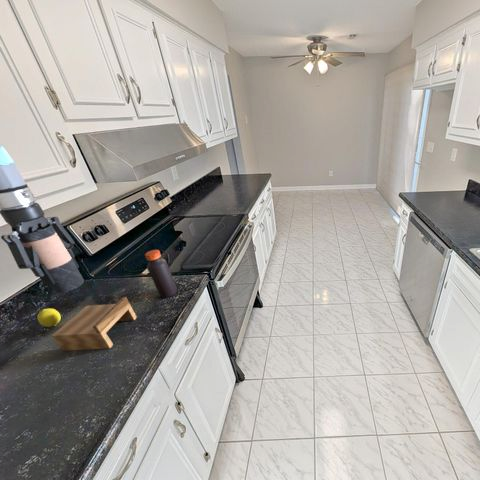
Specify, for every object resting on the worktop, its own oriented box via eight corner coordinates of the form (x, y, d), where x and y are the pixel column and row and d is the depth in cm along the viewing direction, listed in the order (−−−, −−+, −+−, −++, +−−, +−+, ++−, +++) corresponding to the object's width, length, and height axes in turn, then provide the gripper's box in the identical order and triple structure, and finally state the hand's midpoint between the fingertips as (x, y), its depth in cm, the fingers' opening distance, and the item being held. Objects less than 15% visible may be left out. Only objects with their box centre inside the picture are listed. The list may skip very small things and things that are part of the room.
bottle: (172, 297, 105) (155, 256, 96) (156, 298, 106) (138, 257, 96) (180, 287, 111) (165, 248, 102) (165, 288, 112) (148, 249, 102)
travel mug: (90, 281, 82) (56, 225, 73) (61, 296, 76) (21, 236, 67) (77, 276, 85) (44, 222, 76) (49, 290, 79) (9, 233, 70)
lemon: (43, 333, 92) (30, 317, 88) (46, 324, 96) (34, 308, 92) (63, 326, 94) (52, 310, 91) (66, 317, 98) (54, 302, 95)
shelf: (63, 350, 84) (46, 328, 79) (95, 319, 96) (83, 299, 92) (110, 348, 84) (96, 326, 79) (137, 317, 96) (126, 296, 92)
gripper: (-13, 219, 59) (42, 296, 69) (65, 193, 77) (100, 257, 88) (-44, 221, 59) (16, 297, 70) (41, 195, 77) (78, 258, 88)
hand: (62, 275), depth 79 cm, fingers closed on travel mug, 8 cm apart
